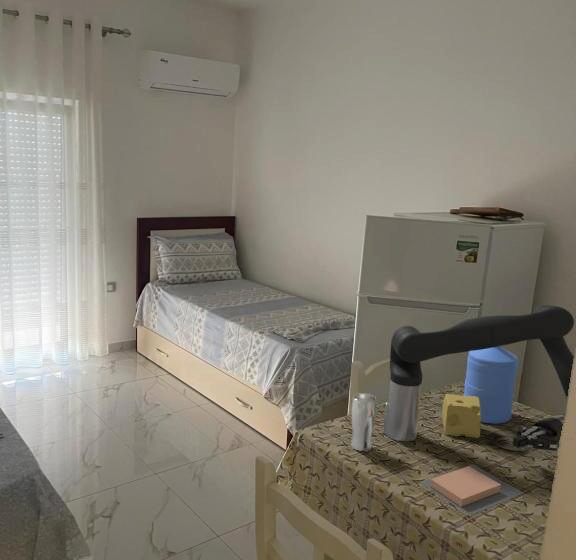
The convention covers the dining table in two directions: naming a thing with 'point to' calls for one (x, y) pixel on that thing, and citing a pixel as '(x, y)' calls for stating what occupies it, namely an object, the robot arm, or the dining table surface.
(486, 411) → the water jug
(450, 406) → the cheese
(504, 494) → the mat
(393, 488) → the dining table surface
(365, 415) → the beer glass
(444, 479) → the tile
